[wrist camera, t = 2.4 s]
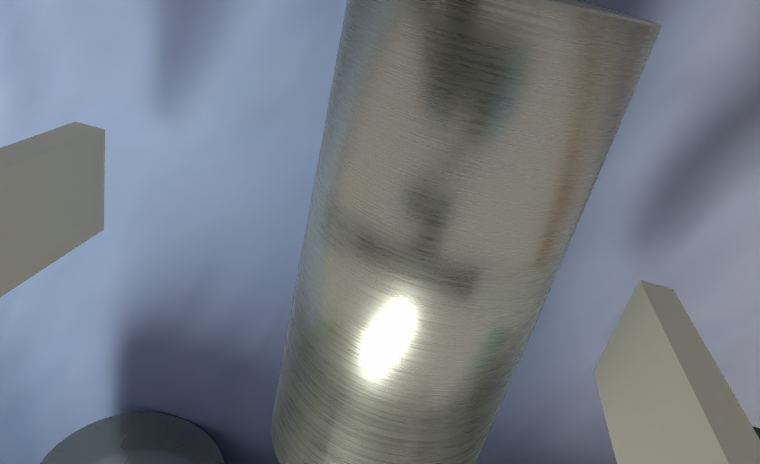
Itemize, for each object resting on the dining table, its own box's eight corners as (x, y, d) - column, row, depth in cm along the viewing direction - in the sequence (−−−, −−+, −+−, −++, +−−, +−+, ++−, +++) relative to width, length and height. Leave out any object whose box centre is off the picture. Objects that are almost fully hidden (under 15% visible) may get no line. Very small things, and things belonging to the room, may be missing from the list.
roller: (317, -63, 12) (445, -20, 7) (536, -12, 14) (732, 44, 10) (251, 372, 17) (303, 551, 13) (418, 354, 20) (511, 499, 15)
